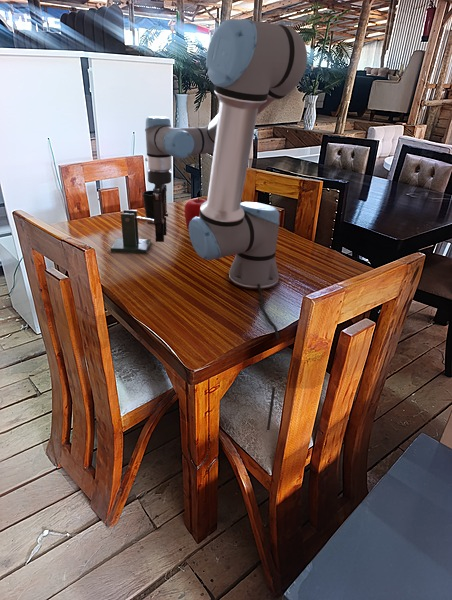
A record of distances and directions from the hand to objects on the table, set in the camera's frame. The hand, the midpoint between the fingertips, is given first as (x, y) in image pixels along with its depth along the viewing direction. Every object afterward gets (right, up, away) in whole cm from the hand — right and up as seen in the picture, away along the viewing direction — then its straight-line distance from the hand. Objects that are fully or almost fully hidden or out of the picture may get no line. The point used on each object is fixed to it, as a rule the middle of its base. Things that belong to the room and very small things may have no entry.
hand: (161, 238), depth 139 cm
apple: (+11, +5, +19) cm, 23 cm away
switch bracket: (-11, -3, +2) cm, 11 cm away
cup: (-8, +11, +27) cm, 30 cm away
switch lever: (-5, +5, -3) cm, 8 cm away
